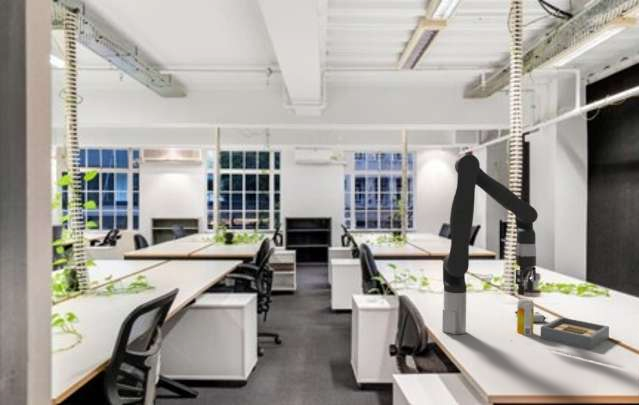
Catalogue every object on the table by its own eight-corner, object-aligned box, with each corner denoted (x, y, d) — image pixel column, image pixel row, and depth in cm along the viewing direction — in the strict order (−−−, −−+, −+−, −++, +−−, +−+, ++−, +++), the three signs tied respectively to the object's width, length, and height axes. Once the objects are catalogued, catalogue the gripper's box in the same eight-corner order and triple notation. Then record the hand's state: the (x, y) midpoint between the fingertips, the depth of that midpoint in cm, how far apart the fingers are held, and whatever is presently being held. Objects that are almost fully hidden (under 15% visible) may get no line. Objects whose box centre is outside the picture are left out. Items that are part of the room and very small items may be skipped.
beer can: (528, 332, 187) (529, 297, 187) (535, 337, 181) (536, 301, 181) (514, 332, 187) (514, 297, 187) (521, 337, 181) (522, 301, 181)
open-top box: (590, 352, 164) (591, 337, 164) (540, 340, 177) (540, 326, 177) (608, 340, 179) (609, 326, 179) (561, 329, 192) (561, 317, 192)
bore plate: (588, 346, 168) (588, 338, 168) (549, 337, 179) (549, 329, 179) (600, 338, 178) (600, 331, 178) (562, 330, 188) (562, 323, 188)
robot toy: (512, 317, 215) (518, 323, 200) (513, 308, 215) (518, 313, 200) (540, 319, 211) (547, 326, 197) (540, 310, 212) (547, 315, 197)
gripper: (524, 251, 191) (524, 289, 191) (509, 254, 181) (509, 294, 182) (542, 253, 185) (542, 292, 186) (528, 256, 176) (527, 297, 176)
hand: (525, 293), depth 184 cm, fingers open, 8 cm apart
